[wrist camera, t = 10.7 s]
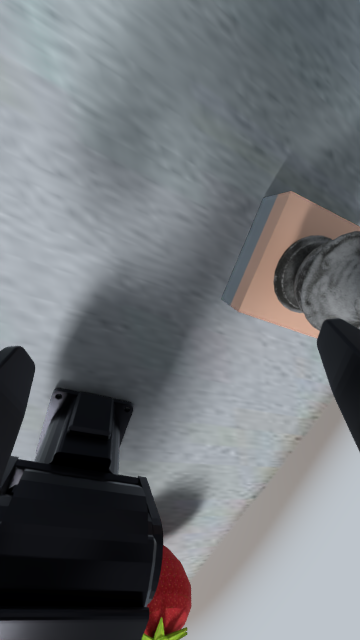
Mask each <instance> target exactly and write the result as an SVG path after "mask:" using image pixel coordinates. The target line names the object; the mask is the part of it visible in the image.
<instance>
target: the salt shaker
mask: <svg viewBox="0 0 360 640" xmlns="http://www.w3.org/2000/svg"><path fill="white" fill-rule="evenodd" d="M273 283H274V291H275V294H276V296H277V298H278V300H279V301H280V303H281V304H282V305H283V306H284V307H285V308H287V309H289V310H290V311H293V312H297V313H304V315H305V317H306V319H307V320H308V322H309V323H310V324H311V325H312V326H313V327H314V328H316V329H317V330H319V331H320V329H321V326H322V323H323V321H324V320H326V319H334V318H340V319H343V320H345V321H346V322H348V323H350V324H352V325H353V326H355V327H357V328H359V329H360V231H354V232H350V233H347V234H343V235H341V236H339V237H337V238H336V239H333V240H332V239H331V238H328V237H325V236H320V235H311V236H308V237H304V238H301V239H300V240H298V241H296V242H295V243H293V244H292V245H291V246H290V247H289V248H288V249H287V250H286V251H285V252H284V253H283V255H282V257H281V258H280V260H279V261H278V264H277V267H276V269H275V273H274V281H273Z"/></svg>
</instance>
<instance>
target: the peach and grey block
mask: <svg viewBox="0 0 360 640" xmlns="http://www.w3.org/2000/svg"><path fill="white" fill-rule="evenodd" d="M354 231H360V227H359V226H357V225H356V224H354V223H352V222H350V221H348V220H346V219H344V218H342V217H340V216H338V215H336V214H335V213H333V212H331V211H329V210H327V209H325V208H323V207H321V206H319V205H317V204H315V203H313V202H312V201H310V200H308V199H306V198H304V197H302V196H300V195H298V194H296V193H294V192H292V191H289V192H285V193H281V194H277V195H273V196H269V197H264V198H263V200H262V203H261V205H260V207H259V210H258V212H257V215H256V217H255V219H254V222H253V224H252V227H251V229H250V231H249V234H248V236H247V239H246V241H245V243H244V246H243V248H242V250H241V253H240V255H239V258H238V260H237V262H236V265H235V267H234V270H233V272H232V274H231V277H230V279H229V282H228V284H227V286H226V289H225V291H224V293H223V296H222V298H221V299H222V300H223V301H224V302H226V303H227V304H228V305H230V306H231V307H233V308H234V309H235V310H237V311H238V312H241V313H244V314H246V315H249V316H252V317H255V318H258V319H261V320H264V321H267V322H270V323H273V324H276V325H279V326H282V327H285V328H288V329H291V330H294V331H297V332H300V333H303V334H306V335H309V336H312V337H315V338H318V335H319V332H320V331H319V330H317V329H316V328H314V327H313V326H312V325H311V324H310V323H309V322H308V320H307V319H306V317H305V315H304V313H297V312H293V311H290V310H289V309H287V308H285V307H284V306H283V305H282V304H281V303H280V301H279V300H278V298H277V296H276V294H275V291H274V283H273V281H274V273H275V269H276V267H277V264H278V261H279V260H280V258H281V257H282V255H283V253H284V252H285V251H286V250H287V249H288V248H289V247H290V246H291V245H292V244H293V243H295V242H296V241H298V240H300V239H301V238H304V237H308V236H311V235H320V236H325V237H328V238H331V239H332V240H333V239H336V238H337V237H339V236H341V235H343V234H347V233H350V232H354Z"/></svg>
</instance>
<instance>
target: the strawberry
mask: <svg viewBox="0 0 360 640" xmlns="http://www.w3.org/2000/svg"><path fill="white" fill-rule="evenodd" d="M147 607H149V621H148V623H147V626H146V629H145V632H144V634H143V637H142V640H179V639H181V638H182V637H184V636H186V635H187V632H186V631H187V627H186V628H183V629H181V628H182V627H183V626H184V624H185V622H186V620H187V617H188V614H189V612H190V609H191V585H190V582H189V580H188V578H187V575H186V573H185V570H184V568H183V566H182V564H181V562H180V561H179V560H178V559H177V558H176V557H175V556H174V554H173V553H172V552H171V551H170V550H169V549H168V548H167V547H165V546H164V545H163V558H162V567H161V573H160V578H159V583H158V586H157V589H156V592H155V595H154V597H153V599H152V600H151V602H150V603H149V604H147ZM184 632H185V633H184Z"/></svg>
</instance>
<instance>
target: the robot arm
mask: <svg viewBox="0 0 360 640" xmlns="http://www.w3.org/2000/svg"><path fill="white" fill-rule="evenodd" d="M317 347H318V350H319V353H320V356H321V359H322V363H323V366H324V369H325V372H326V375H327V378H328V381H329V384H330V387H331V390H332V392H333V395H334V397H335V400H336V402H337V404H338V406H339V408H340V410H341V413H342V415H343V417H344V419H345V421H346V423H347V426H348V428H349V430H350V432H351V434H352V436H353V438H354V441H355V443H356V445H357V447H358V449H359V451H360V329H359V328H357V327H355V326H353V325H352V324H350V323H348V322H346V321H345V320H343V319H340V318H334V319H326V320H324V321H323V323H322V326H321V329H320V332H319V335H318V338H317ZM34 373H35V364H34V362H33V360H32V359H31V358H30V356H29V355H28V353H27V352H26V351H25V349H24V348H23V347H21V346H11V347H6V348H4V349H3V350H1V351H0V640H142V637H143V634H144V632H145V629H146V626H147V623H148V621H149V607H147V604H149V603H150V602H151V600H152V599H153V597H154V595H155V592H156V589H157V586H158V583H159V578H160V573H161V567H162V558H163V531H162V524H161V520H160V517H159V514H158V511H157V508H156V505H155V502H154V499H153V496H152V493H151V490H150V487H149V484H148V481H147V478H146V477H141V476H138V478H136V477H129V476H123V475H118V471H119V447H120V444H121V442H122V439H123V436H124V434H125V431H126V428H127V426H128V423H129V420H130V418H131V415H132V412H133V404H132V403H131V402H127V401H122V400H117V399H112V398H111V397H106V396H101V395H96V394H91V393H86V392H77V391H72V390H67V389H62V388H58V389H55V390H54V392H53V394H52V396H51V400H50V403H49V407H48V411H47V414H46V418H45V421H44V425H43V429H42V432H41V436H40V439H39V443H38V447H37V450H36V454H37V456H36V459H35V461H27V460H21V459H18V458H19V457H14V456H11V453H12V450H13V447H14V444H15V441H16V439H17V436H18V433H19V430H20V427H21V424H22V421H23V418H24V415H25V411H26V407H27V403H28V398H29V394H30V390H31V386H32V381H33V377H34ZM56 394H61V395H62V396H57V395H56ZM126 407H129V409H125V408H126Z"/></svg>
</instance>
